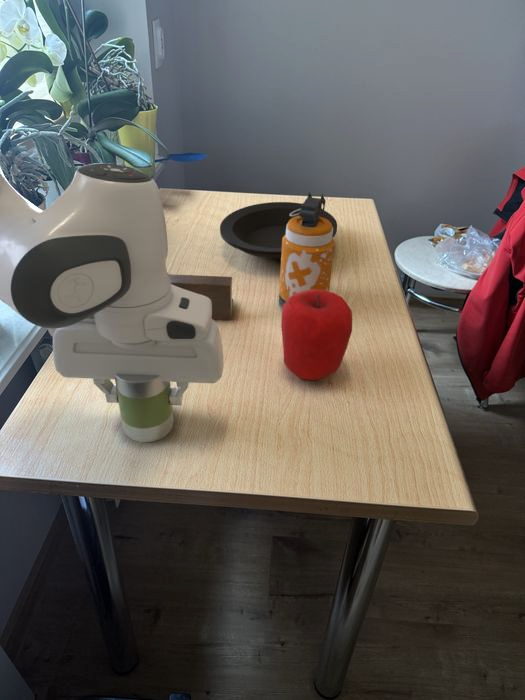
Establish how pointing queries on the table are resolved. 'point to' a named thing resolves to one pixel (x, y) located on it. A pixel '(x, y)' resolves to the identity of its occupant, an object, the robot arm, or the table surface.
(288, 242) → the canister
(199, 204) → the table surface
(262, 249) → the plate
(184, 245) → the table surface
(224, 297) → the brown wooden block
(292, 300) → the apple
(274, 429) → the table surface
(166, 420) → the can
